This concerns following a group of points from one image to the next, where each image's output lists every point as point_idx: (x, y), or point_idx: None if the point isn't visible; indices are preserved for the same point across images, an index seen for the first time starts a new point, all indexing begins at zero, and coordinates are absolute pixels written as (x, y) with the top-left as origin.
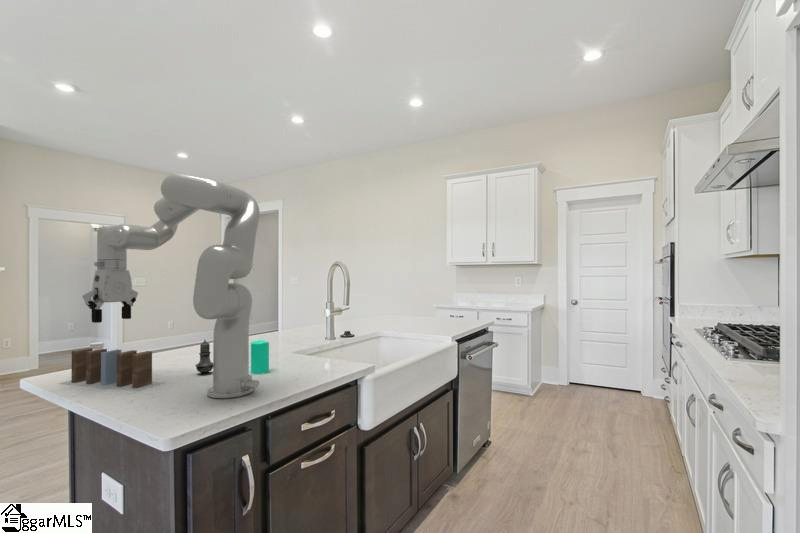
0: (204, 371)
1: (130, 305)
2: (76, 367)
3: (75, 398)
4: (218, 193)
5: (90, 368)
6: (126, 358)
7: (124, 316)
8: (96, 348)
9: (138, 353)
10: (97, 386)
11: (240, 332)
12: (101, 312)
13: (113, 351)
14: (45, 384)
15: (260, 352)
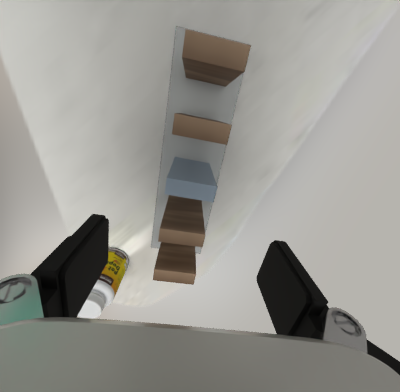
0: None
1: (32, 283)
2: (193, 247)
3: (280, 159)
4: None
5: (202, 213)
6: (211, 120)
7: (102, 252)
8: (100, 294)
9: (226, 60)
10: (215, 174)
11: None
12: (302, 280)
13: (193, 181)
14: (197, 270)
15: None
